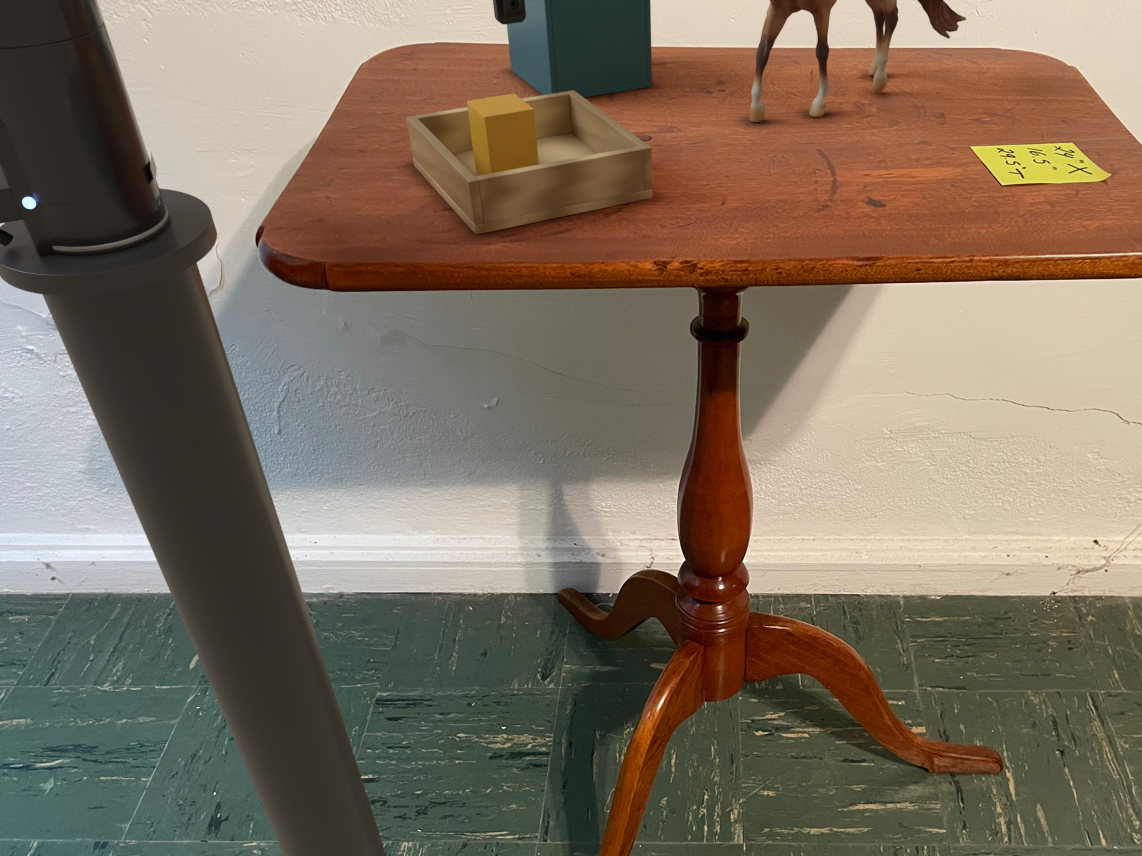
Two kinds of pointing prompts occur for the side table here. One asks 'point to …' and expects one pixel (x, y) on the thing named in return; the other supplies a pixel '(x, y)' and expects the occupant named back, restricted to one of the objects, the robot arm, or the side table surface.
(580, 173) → the box
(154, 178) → the robot arm
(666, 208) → the side table surface
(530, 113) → the block
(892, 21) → the horse figurine
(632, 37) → the teal upright container
